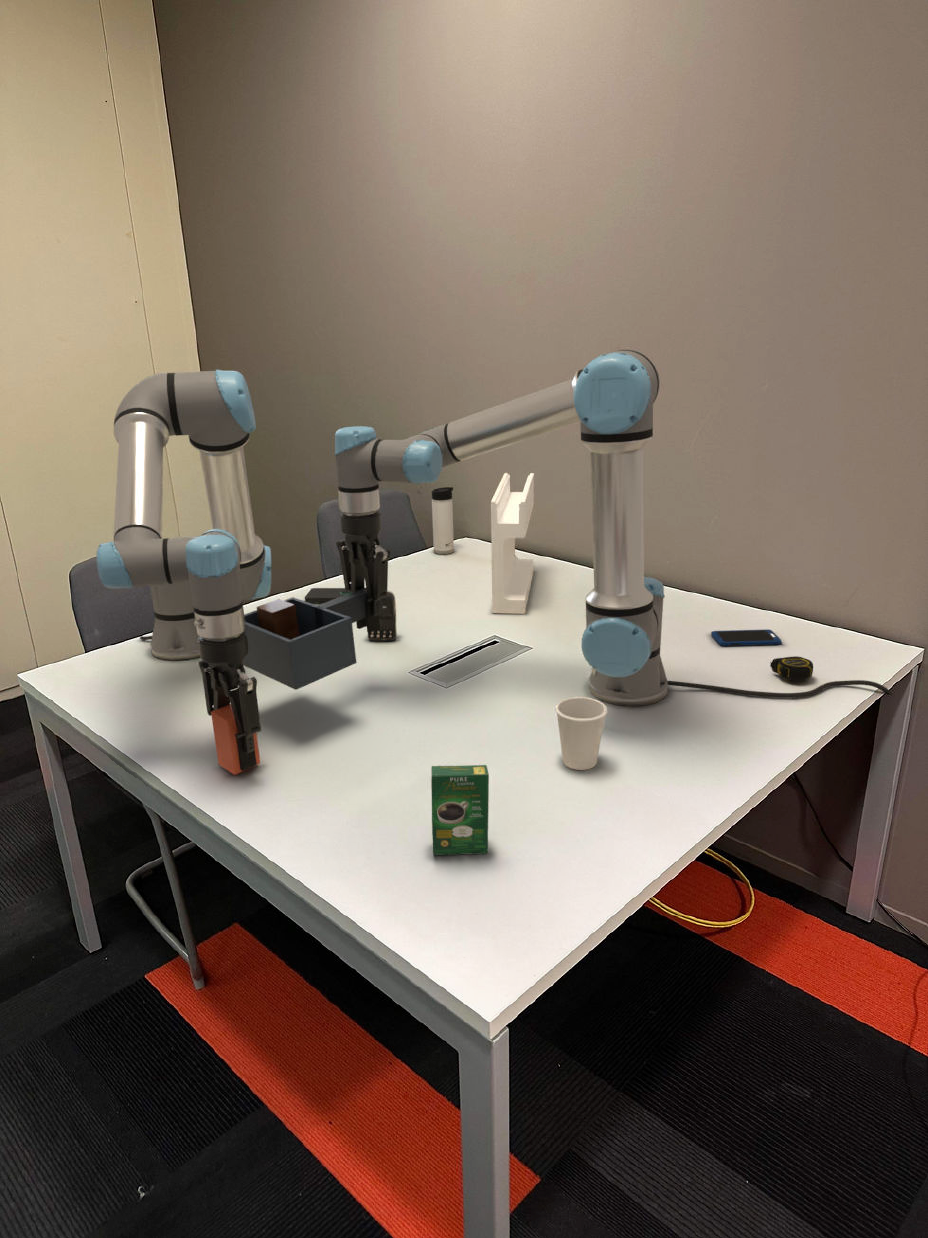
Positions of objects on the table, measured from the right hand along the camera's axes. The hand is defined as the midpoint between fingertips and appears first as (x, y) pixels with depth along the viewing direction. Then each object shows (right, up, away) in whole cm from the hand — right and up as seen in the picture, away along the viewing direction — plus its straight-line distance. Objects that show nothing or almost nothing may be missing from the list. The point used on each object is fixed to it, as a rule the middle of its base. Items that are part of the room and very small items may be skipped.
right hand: (368, 628), depth 168 cm
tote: (-7, -4, -6) cm, 10 cm away
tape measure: (+85, -10, +4) cm, 86 cm away
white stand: (+32, +9, +59) cm, 68 cm away
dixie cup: (+38, -22, -25) cm, 51 cm away
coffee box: (+18, -31, -47) cm, 59 cm away
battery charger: (0, -3, +29) cm, 29 cm away
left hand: (-19, -22, -24) cm, 38 cm away
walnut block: (-15, -5, -9) cm, 18 cm away
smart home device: (-12, +7, +56) cm, 58 cm away
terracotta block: (-19, -23, -24) cm, 38 cm away
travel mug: (+13, +22, +96) cm, 99 cm away
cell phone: (+82, -3, +23) cm, 85 cm away
